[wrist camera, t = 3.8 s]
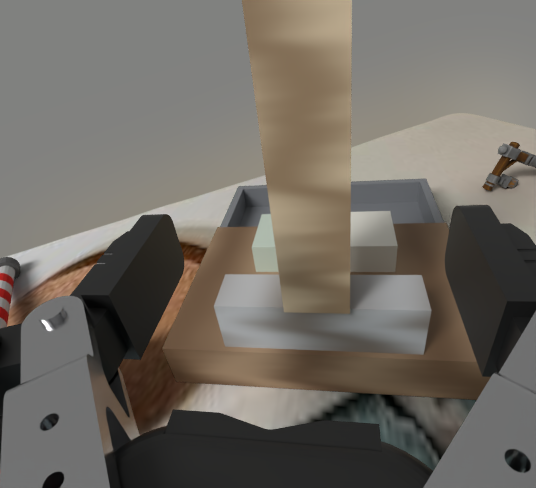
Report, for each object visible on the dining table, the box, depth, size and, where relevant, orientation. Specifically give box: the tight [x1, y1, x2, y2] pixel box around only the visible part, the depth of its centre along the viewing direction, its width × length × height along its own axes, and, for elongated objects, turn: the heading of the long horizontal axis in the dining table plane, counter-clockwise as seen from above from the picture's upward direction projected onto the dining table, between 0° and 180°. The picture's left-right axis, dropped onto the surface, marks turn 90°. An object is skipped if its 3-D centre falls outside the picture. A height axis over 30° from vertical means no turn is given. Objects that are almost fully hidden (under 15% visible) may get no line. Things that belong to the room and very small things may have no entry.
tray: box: [220, 179, 444, 227], centre depth 33 cm, size 17×8×2 cm, turn 82°
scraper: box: [214, 0, 431, 355], centre depth 16 cm, size 10×3×16 cm, turn 82°
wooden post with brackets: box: [483, 142, 536, 191], centre depth 35 cm, size 2×8×4 cm, turn 107°
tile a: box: [350, 211, 398, 272], centre depth 25 cm, size 4×4×2 cm
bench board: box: [162, 223, 491, 400], centre depth 25 cm, size 17×12×3 cm
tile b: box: [252, 214, 279, 272], centre depth 26 cm, size 4×4×2 cm
